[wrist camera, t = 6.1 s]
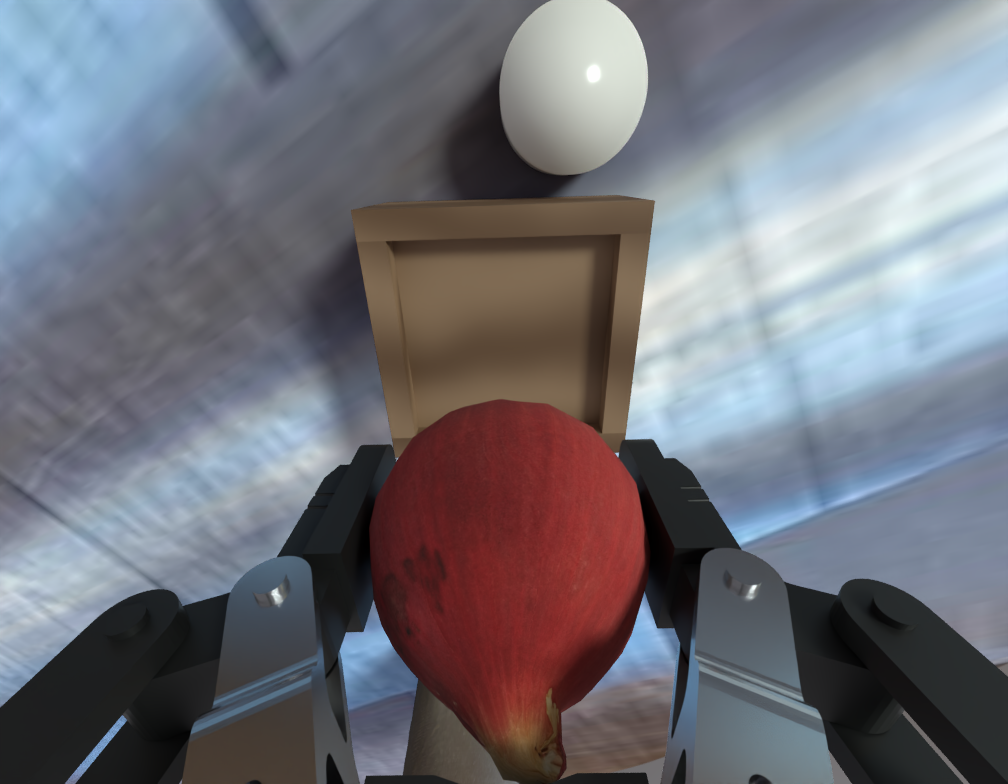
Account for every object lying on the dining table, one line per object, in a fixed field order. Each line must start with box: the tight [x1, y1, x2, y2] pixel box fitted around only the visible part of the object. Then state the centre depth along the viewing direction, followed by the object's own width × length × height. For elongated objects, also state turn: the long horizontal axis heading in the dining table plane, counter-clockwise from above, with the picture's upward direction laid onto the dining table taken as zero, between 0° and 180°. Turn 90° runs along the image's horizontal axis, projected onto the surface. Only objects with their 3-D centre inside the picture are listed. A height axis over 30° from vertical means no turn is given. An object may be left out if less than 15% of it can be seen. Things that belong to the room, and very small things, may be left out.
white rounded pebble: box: [499, 0, 648, 175], centre depth 18 cm, size 6×6×4 cm
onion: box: [369, 399, 651, 784], centre depth 9 cm, size 6×6×8 cm
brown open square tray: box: [351, 195, 655, 457], centre depth 22 cm, size 12×12×6 cm
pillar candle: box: [403, 679, 519, 784], centre depth 32 cm, size 10×10×15 cm
